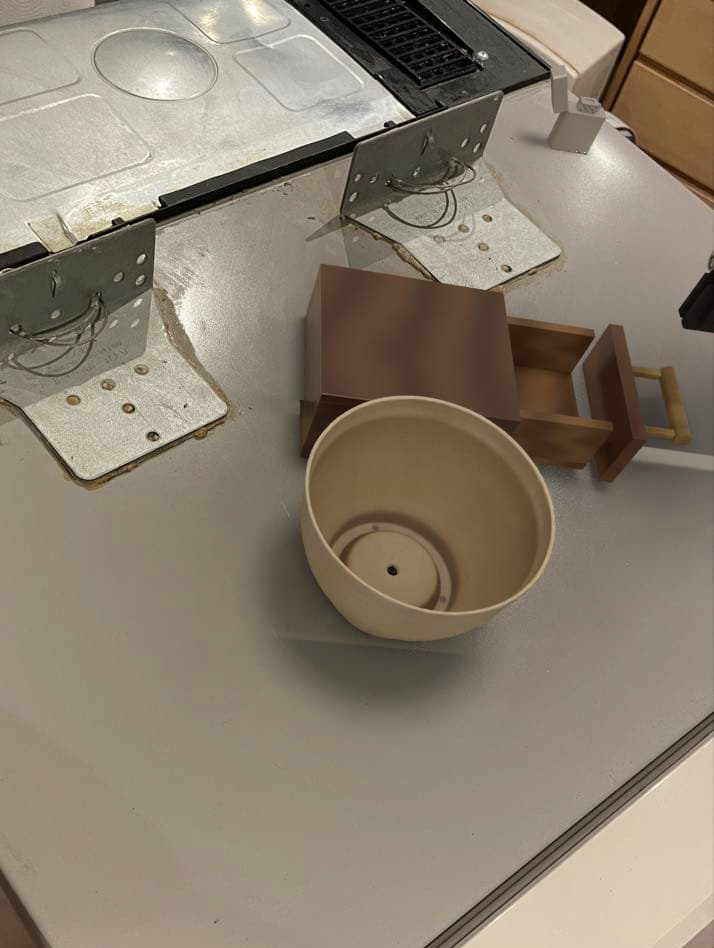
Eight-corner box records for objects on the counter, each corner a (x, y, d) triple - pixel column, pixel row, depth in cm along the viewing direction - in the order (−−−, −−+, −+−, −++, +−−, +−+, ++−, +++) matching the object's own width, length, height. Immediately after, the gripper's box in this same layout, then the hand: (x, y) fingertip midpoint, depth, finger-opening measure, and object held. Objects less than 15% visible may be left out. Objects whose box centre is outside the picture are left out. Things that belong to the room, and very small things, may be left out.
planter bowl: (449, 473, 76) (502, 384, 67) (525, 663, 69) (595, 592, 60) (250, 497, 71) (277, 404, 62) (308, 705, 64) (349, 634, 55)
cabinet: (470, 356, 83) (503, 292, 77) (483, 480, 77) (521, 421, 70) (300, 331, 81) (320, 262, 74) (299, 457, 74) (321, 394, 68)
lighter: (584, 143, 102) (621, 73, 96) (587, 154, 101) (624, 85, 95) (520, 132, 101) (552, 61, 94) (522, 143, 100) (555, 72, 93)
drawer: (646, 380, 85) (682, 334, 80) (671, 490, 79) (711, 448, 74) (439, 349, 82) (462, 300, 77) (449, 462, 76) (475, 416, 71)
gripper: (968, 203, 54) (769, 410, 69) (885, 37, 61) (722, 257, 77) (845, 181, 52) (670, 397, 68) (775, 14, 60) (633, 243, 75)
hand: (698, 322), depth 72 cm, fingers closed
